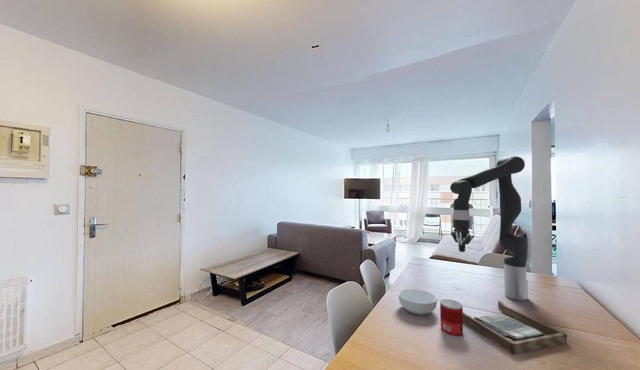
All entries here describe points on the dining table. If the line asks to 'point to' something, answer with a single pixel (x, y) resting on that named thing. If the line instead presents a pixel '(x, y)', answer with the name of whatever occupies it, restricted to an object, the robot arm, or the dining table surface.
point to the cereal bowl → (417, 301)
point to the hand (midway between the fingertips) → (461, 251)
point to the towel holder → (517, 347)
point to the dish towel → (509, 327)
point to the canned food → (451, 317)
